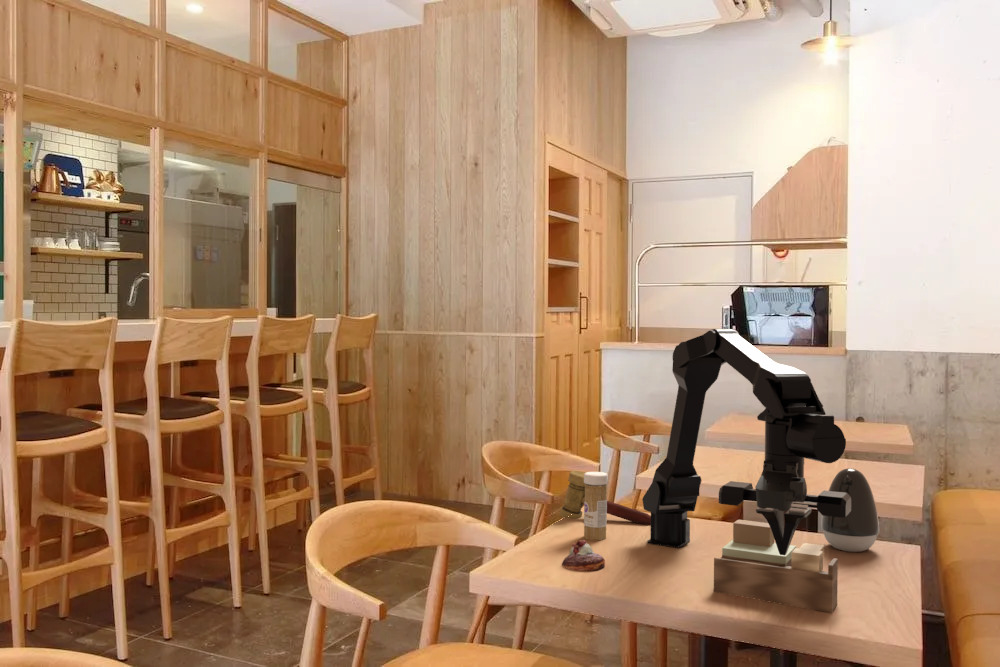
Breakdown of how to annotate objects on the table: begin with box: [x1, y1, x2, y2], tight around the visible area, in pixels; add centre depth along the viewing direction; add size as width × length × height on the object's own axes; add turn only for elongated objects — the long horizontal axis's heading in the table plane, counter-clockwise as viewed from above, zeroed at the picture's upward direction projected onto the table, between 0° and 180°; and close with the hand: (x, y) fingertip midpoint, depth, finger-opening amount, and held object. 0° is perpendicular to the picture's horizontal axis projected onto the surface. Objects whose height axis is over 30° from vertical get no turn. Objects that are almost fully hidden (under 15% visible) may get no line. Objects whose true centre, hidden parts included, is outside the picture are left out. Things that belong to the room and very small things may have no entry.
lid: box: [721, 519, 797, 564], centre depth 143 cm, size 10×8×4 cm
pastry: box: [561, 539, 606, 572], centre depth 152 cm, size 8×8×5 cm
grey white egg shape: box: [820, 467, 880, 553], centre depth 166 cm, size 10×10×15 cm
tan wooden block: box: [791, 542, 825, 573], centre depth 135 cm, size 4×7×3 cm, turn 150°
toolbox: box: [713, 554, 839, 614], centre depth 140 cm, size 18×12×7 cm
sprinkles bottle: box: [583, 471, 609, 541], centre depth 170 cm, size 5×5×14 cm
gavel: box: [559, 470, 651, 526], centre depth 185 cm, size 21×5×10 cm, turn 71°
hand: (783, 554), depth 135 cm, fingers closed
